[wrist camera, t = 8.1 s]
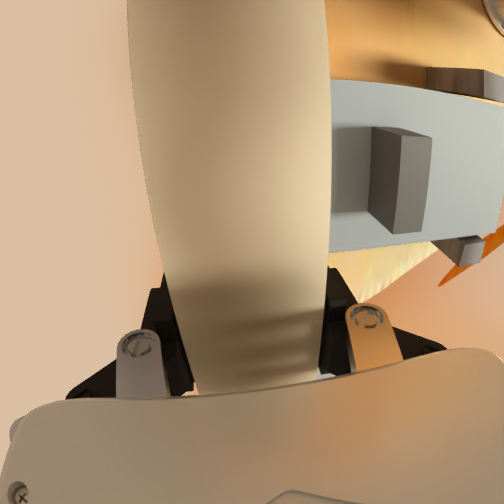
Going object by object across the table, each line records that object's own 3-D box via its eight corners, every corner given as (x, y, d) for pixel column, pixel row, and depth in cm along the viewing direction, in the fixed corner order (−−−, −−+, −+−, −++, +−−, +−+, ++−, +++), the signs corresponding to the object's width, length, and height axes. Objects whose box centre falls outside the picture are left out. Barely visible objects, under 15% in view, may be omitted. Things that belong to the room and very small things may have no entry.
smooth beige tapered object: (278, -39, 7) (310, -93, 3) (288, 423, 18) (299, 475, 15) (156, -30, 7) (129, -83, 3) (228, 431, 18) (232, 484, 15)
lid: (498, 106, 26) (543, 118, 19) (483, 224, 33) (519, 250, 27) (301, 79, 24) (331, 75, 17) (304, 243, 32) (326, 285, 25)
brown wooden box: (464, 76, 30) (518, 83, 21) (450, 226, 41) (493, 259, 32) (282, 52, 28) (310, 36, 19) (289, 242, 39) (312, 291, 30)
